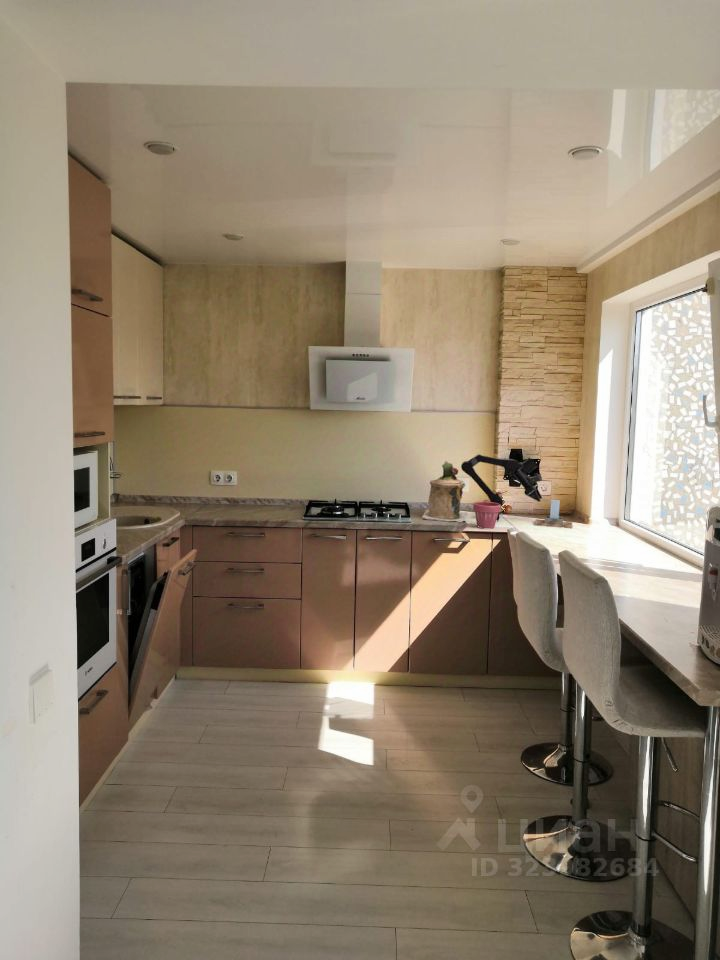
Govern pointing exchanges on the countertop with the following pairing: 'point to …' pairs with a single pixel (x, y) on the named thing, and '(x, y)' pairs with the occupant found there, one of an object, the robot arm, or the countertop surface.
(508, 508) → the toy helicopter
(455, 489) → the cookie jar
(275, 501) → the countertop surface
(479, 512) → the plant pot
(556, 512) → the block
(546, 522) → the jig cradle
